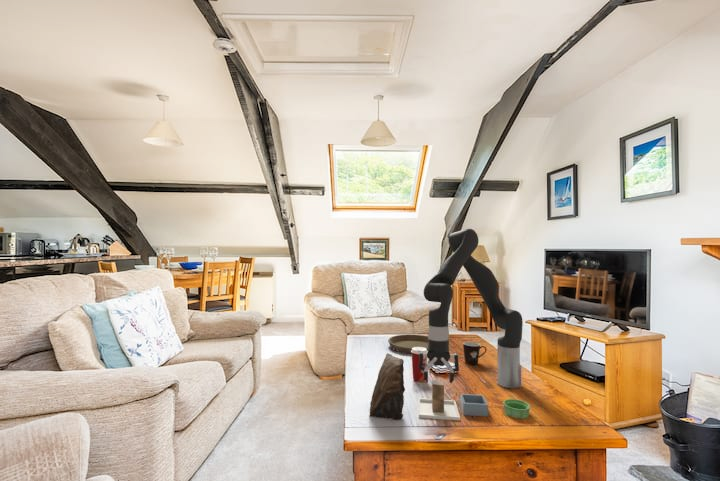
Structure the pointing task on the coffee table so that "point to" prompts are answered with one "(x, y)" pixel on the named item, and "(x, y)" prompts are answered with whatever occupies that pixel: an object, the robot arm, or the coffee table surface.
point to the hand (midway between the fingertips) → (438, 381)
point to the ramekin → (516, 408)
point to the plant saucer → (408, 342)
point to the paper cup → (417, 373)
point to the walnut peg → (438, 396)
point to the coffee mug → (472, 352)
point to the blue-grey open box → (473, 405)
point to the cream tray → (448, 414)
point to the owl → (389, 390)
